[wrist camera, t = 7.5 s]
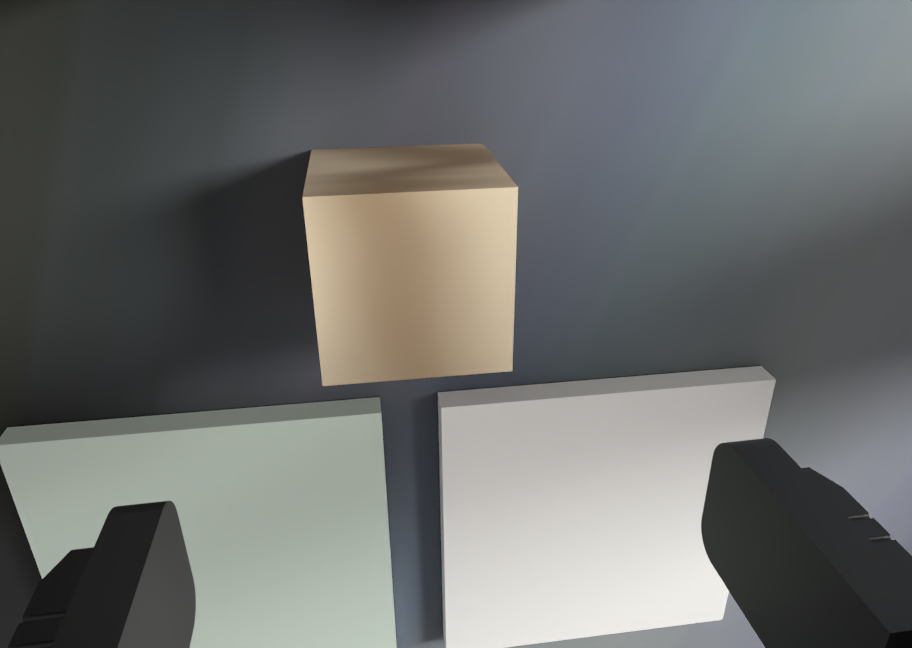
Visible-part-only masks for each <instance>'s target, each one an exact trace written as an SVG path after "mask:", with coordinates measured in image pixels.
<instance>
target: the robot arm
mask: <svg viewBox="0 0 912 648" xmlns="http://www.w3.org/2000/svg"><path fill="white" fill-rule="evenodd" d="M701 533H702V539H703V544H704V547H705V551H706V553H707V556H708V558H709V560H710V562H711V564H712V565H713V567H714V568H715V570H716V571H717V573H718V575H719V576H720V578H721V579H722V581H723V582H724V584H725V585H726V587H727V589H728V590H729V592H730V593H731V595H732V596H733V598H734V599H735V601H736V603H737V604H738V606H739V607H740V609H741V610H742V612H743V613H744V615H745V616H746V618H747V620H748V621H749V623H750V624H751V626H752V627H753V629H754V630H755V632H756V634H757V635H758V637H759V638H760V640H761V641H762V643H763V644H764V646H765V648H912V556H911V555H910V554H909V553H908V552H907V551H906V550H905V549H904V548H903V547H902V546H901V545H900V544H899V543H898V542H897V541H896V540H891V539H890V534H889V533H888V532H887V531H886V530H885V529H884V528H883V527H882V526H881V525H880V524H879V523H878V522H877V521H876V520H875V519H874V518H872V519H870V518H869V513H868V512H867V511H866V510H865V509H864V508H863V507H862V506H861V505H860V504H859V503H858V502H857V501H856V500H855V499H854V498H853V497H852V496H851V495H850V494H849V493H848V492H847V491H846V490H845V489H844V488H843V487H841V486H839V485H838V484H836V483H834V482H833V481H831V480H829V479H828V478H826V477H824V476H822V475H821V474H819V473H817V472H816V471H814V470H812V469H811V468H800V467H799V465H798V464H797V463H796V462H795V461H794V460H793V459H792V458H791V457H790V456H789V455H788V454H787V453H786V452H785V451H784V450H783V449H782V448H781V447H780V446H779V445H778V444H777V443H776V442H775V441H774V440H772V439H769V438H763V439H754V440H745V441H735V442H726V443H721V444H719V445H718V446H717V447H716V448H715V450H714V453H713V457H712V463H711V469H710V474H709V480H708V486H707V491H706V497H705V503H704V508H703V514H702V520H701ZM195 613H196V594H195V585H194V579H193V575H192V571H191V567H190V563H189V558H188V554H187V550H186V546H185V542H184V538H183V533H182V529H181V525H180V521H179V517H178V513H177V509H176V507H175V505H174V503H173V502H172V501H162V502H153V503H143V504H134V505H125V506H116V507H113V508H112V509H111V510H110V512H109V514H108V516H107V518H106V520H105V523H104V525H103V527H102V530H101V532H100V534H99V537H98V539H97V541H96V544H95V546H94V547H92V548H83V549H75V550H71V551H70V552H69V553H68V554H67V555H66V556H65V557H64V558H63V559H62V560H61V561H60V562H59V563H58V564H57V565H56V566H55V567H54V568H53V569H52V570H51V571H50V572H49V573H48V574H47V575H46V576H45V577H44V578H43V579H42V580H41V581H40V583H39V585H38V587H37V589H36V591H35V593H34V595H33V597H32V599H31V601H30V603H29V605H28V607H27V609H26V611H25V613H24V615H23V623H19V625H18V627H17V629H16V631H15V633H14V635H13V637H12V639H11V641H10V643H9V645H8V647H9V648H189V647H190V643H191V638H192V634H193V629H194V623H195Z"/></svg>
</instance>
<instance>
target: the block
mask: <svg viewBox="0 0 912 648" xmlns="http://www.w3.org/2000/svg"><path fill="white" fill-rule="evenodd" d="M302 199H303V208H304V218H305V227H306V236H307V246H308V255H309V264H310V274H311V283H312V292H313V302H314V311H315V320H316V330H317V339H318V348H319V358H320V367H321V376H322V386H331V385H344V384H356V383H369V382H382V381H394V380H407V379H420V378H432V377H445V376H458V375H470V374H483V373H496V372H508V371H512V368H513V336H514V304H515V272H516V240H517V208H518V186H517V185H516V184H515V183H514V181H513V180H512V179H511V178H510V177H509V175H508V174H507V173H506V172H505V170H504V169H503V168H502V167H501V166H500V164H499V163H498V162H497V161H496V160H495V158H494V157H493V156H492V155H491V153H490V152H489V151H488V150H487V149H486V147H485V146H484V145H483V144H482V143H476V144H450V145H424V146H398V147H372V148H347V149H321V150H311V155H310V160H309V165H308V170H307V175H306V180H305V186H304V191H303V196H302Z"/></svg>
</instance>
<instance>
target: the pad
mask: <svg viewBox="0 0 912 648" xmlns="http://www.w3.org/2000/svg"><path fill="white" fill-rule="evenodd" d="M775 382H776V379H775V378H774V377H773V376H772V375H771V374H770V373H768V372H767V371H766V370H765V369H764V368H763V367H762V366H754V367H742V368H729V369H717V370H705V371H693V372H680V373H668V374H656V375H644V376H631V377H619V378H607V379H595V380H582V381H570V382H558V383H546V384H533V385H521V386H509V387H497V388H484V389H472V390H460V391H448V392H438V426H439V470H440V514H441V558H442V602H443V636H444V643H445V648H505V647H512V646H520V645H528V644H536V643H544V642H551V641H559V640H567V639H575V638H583V637H591V636H598V635H606V634H614V633H622V632H630V631H638V630H645V629H653V628H661V627H669V626H677V625H685V624H692V623H700V622H708V621H716V620H722V619H723V615H724V610H725V606H726V601H727V597H728V593H729V590H728V589H727V587H726V585H725V584H724V582H723V581H722V579H721V578H720V576H719V575H718V573H717V571H716V570H715V568H714V567H713V565H712V564H711V562H710V560H709V558H708V556H707V553H706V551H705V547H704V544H703V539H702V533H701V520H702V514H703V508H704V503H705V497H706V491H707V486H708V480H709V474H710V469H711V463H712V457H713V453H714V450H715V448H716V447H717V446H718V445H719V444H721V443H726V442H735V441H745V440H754V439H763V436H764V431H765V427H766V423H767V418H768V414H769V409H770V405H771V400H772V396H773V391H774V387H775Z"/></svg>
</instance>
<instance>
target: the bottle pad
mask: <svg viewBox="0 0 912 648" xmlns="http://www.w3.org/2000/svg"><path fill="white" fill-rule="evenodd" d="M0 464H1V467H2V470H3V472H4V475H5V478H6V481H7V483H8V486H9V489H10V492H11V495H12V497H13V500H14V503H15V506H16V508H17V511H18V514H19V517H20V519H21V522H22V525H23V528H24V530H25V533H26V536H27V539H28V541H29V544H30V547H31V550H32V552H33V555H34V558H35V561H36V563H37V566H38V569H39V572H40V574H41V577H42V579H43V578H44V577H45V576H46V575H47V574H48V573H49V572H50V571H51V570H52V569H53V568H54V567H55V566H56V565H57V564H58V563H59V562H60V561H61V560H62V559H63V558H64V557H65V556H66V555H67V554H68V553H69V552H70V551H71V550H75V549H83V548H92V547H94V546H95V544H96V541H97V539H98V537H99V534H100V532H101V530H102V527H103V525H104V523H105V520H106V518H107V516H108V514H109V512H110V510H111V509H112V508H113V507H116V506H125V505H134V504H143V503H153V502H162V501H172V502H173V503H174V505H175V507H176V509H177V513H178V517H179V521H180V525H181V529H182V533H183V538H184V542H185V546H186V550H187V554H188V558H189V563H190V567H191V571H192V575H193V579H194V585H195V594H196V613H195V623H194V629H193V634H192V638H191V643H190V647H189V648H397V646H396V631H395V615H394V600H393V584H392V569H391V554H390V538H389V523H388V508H387V492H386V477H385V461H384V446H383V431H382V415H381V403H380V397H374V398H362V399H350V400H337V401H325V402H313V403H301V404H288V405H276V406H264V407H252V408H239V409H227V410H215V411H203V412H190V413H178V414H166V415H154V416H141V417H129V418H117V419H105V420H92V421H80V422H68V423H56V424H43V425H31V426H19V427H7V429H6V430H5V431H4V433H3V434H2V435H1V437H0Z"/></svg>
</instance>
